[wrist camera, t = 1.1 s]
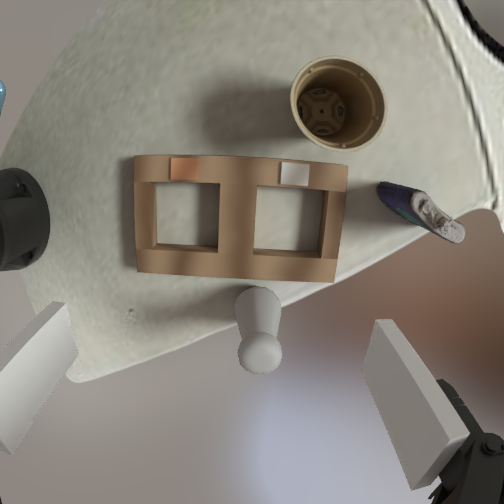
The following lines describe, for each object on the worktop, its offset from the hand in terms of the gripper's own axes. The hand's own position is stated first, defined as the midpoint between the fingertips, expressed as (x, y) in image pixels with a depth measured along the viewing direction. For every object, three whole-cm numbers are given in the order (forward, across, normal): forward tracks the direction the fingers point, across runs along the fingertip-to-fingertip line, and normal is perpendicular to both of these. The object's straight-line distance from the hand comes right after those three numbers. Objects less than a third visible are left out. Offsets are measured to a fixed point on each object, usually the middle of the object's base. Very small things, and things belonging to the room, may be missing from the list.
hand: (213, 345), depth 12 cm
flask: (+27, +21, +2) cm, 34 cm away
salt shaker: (+27, +3, -11) cm, 29 cm away
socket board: (+26, 0, 0) cm, 27 cm away
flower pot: (+27, +9, +13) cm, 31 cm away
